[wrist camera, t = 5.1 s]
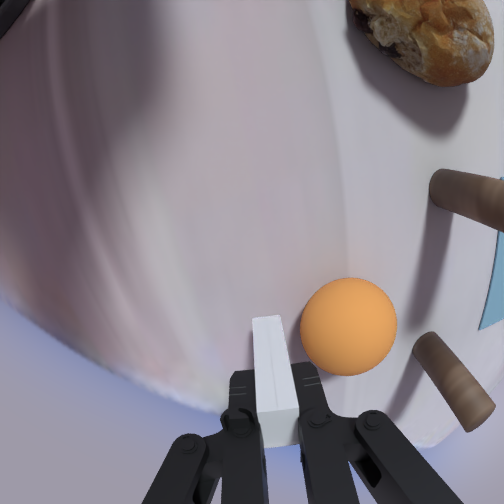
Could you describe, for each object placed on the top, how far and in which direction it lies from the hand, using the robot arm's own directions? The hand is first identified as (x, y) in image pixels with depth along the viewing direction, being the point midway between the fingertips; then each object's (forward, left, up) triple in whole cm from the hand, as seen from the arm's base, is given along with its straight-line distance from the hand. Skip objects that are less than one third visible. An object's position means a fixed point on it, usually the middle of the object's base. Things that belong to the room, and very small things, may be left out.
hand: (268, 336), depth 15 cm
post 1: (-7, +13, -2) cm, 15 cm away
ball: (0, +4, +1) cm, 5 cm away
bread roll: (-18, +12, -3) cm, 22 cm away
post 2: (+6, +13, -2) cm, 14 cm away
